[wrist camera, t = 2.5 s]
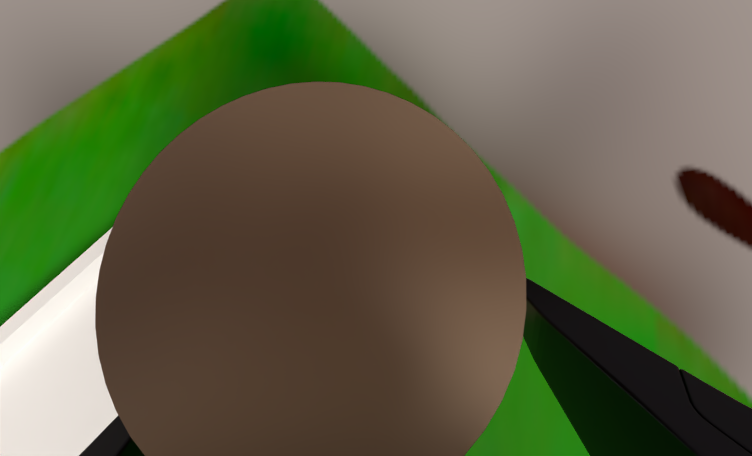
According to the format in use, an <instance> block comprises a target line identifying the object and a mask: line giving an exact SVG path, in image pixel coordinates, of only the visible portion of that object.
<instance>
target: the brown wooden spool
mask: <svg viewBox="0 0 752 456" xmlns="http://www.w3.org/2000/svg"><path fill="white" fill-rule="evenodd" d="M525 316H526V274H525V267H524V260H523V252H522V247H521V243H520V240H519V236H518V233H517V229H516V225H515V222H514V219H513V217H512V214H511V212H510V210H509V207H508V205H507V203H506V200H505V198H504V196H503V194H502V192H501V190H500V189H499V187H498V185H497V183H496V182H495V180H494V178H493V177H492V175H491V173H490V172H489V170H488V169H487V168H486V166H485V165H484V164H483V162H482V161H481V160H480V159H479V157H478V156H477V155H476V153H475V152H474V151H473V150H472V149H471V148H470V147H469V146H468V145H467V144H466V143H465V142H464V141H463V140H462V139H461V138H460V137H459V136H458V135H457V134H456V133H455V132H454V131H453V130H452V129H450V128H449V127H448V126H446V125H445V124H444V123H442V122H441V121H440V120H439V119H437V118H436V117H435V116H433V115H432V114H430V113H428V112H426V111H425V110H423V109H421V108H419V107H418V106H416V105H414V104H413V103H411V102H408V101H406V100H404V99H401V98H399V97H396V96H394V95H392V94H389V93H386V92H383V91H379V90H376V89H372V88H369V87H365V86H359V85H353V84H346V83H340V82H305V83H293V84H287V85H282V86H277V87H272V88H267V89H264V90H261V91H258V92H255V93H252V94H249V95H246V96H243V97H240V98H238V99H236V100H234V101H232V102H229V103H227V104H225V105H223V106H221V107H219V108H217V109H216V110H214V111H212V112H211V113H209V114H207V115H206V116H204V117H202V118H201V119H199V120H198V121H196V122H195V123H194V124H192V125H191V126H190V127H188V128H187V129H186V130H184V131H183V132H182V133H180V134H179V135H178V136H177V137H176V138H175V139H174V140H173V141H172V142H171V143H170V144H168V145H167V146H166V147H165V148H164V149H163V150H162V151H161V152H160V153H159V154H158V155H157V157H156V158H155V159H154V160H153V161H152V163H151V164H150V165H149V166H148V167H147V169H146V170H145V171H144V172H143V173H142V175H141V176H140V178H139V179H138V181H137V182H136V184H135V185H134V187H133V188H132V190H131V191H130V193H129V194H128V196H127V198H126V200H125V202H124V204H123V206H122V208H121V210H120V212H119V213H118V215H117V217H116V220H115V222H114V225H113V227H112V230H111V233H110V235H109V238H108V240H107V243H106V247H105V250H104V254H103V258H102V262H101V266H100V270H99V277H98V284H97V292H96V306H95V329H96V338H97V347H98V356H99V360H100V364H101V368H102V372H103V376H104V380H105V384H106V387H107V389H108V392H109V394H110V397H111V399H112V402H113V404H114V407H115V410H116V412H117V414H118V415H119V417H120V419H121V421H122V422H123V424H124V426H125V428H126V430H127V431H128V433H129V435H130V437H131V438H132V439H133V441H134V442H135V443H136V445H137V446H138V447H139V449H140V450H141V451H142V453H143V454H144V455H145V456H464V455H465V454H466V453H467V451H468V450H469V449H470V448H471V446H472V445H473V444H474V443H475V441H476V440H477V439H478V438H479V436H480V435H481V434H482V433H483V431H484V430H485V429H486V427H487V425H488V423H489V422H490V420H491V418H492V417H493V415H494V413H495V412H496V410H497V408H498V407H499V405H500V403H501V401H502V399H503V397H504V394H505V392H506V390H507V387H508V385H509V382H510V380H511V378H512V375H513V373H514V370H515V366H516V362H517V359H518V355H519V351H520V347H521V344H522V339H523V332H524V324H525Z"/></svg>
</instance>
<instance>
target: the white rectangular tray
mask: <svg viewBox="0 0 752 456" xmlns="http://www.w3.org/2000/svg"><path fill="white" fill-rule="evenodd" d="M111 230H112V228H111V229H110V230H109V231H108V232H107V233H105V234H104V235H103V236H102V237H101V238H100V239H99V240H98V241H96V242H95V243H94V244H93V245H92V246H91V247H90V248H89V249H87V250H86V251H85V252H84V253H83V254H82V255H81V256H80V257H78V258H77V259H76V260H75V261H74V262H73V263H72V264H70V265H69V266H68V267H67V268H66V269H65V270H64V271H63V272H61V273H60V274H59V275H58V276H57V277H56V278H55V279H54V280H52V281H51V282H50V283H49V284H48V285H47V286H46V287H45V288H43V289H42V290H41V291H40V292H39V293H38V294H37V295H36V296H34V297H33V298H32V299H31V300H30V301H29V302H28V303H26V304H25V305H24V306H23V307H22V308H21V309H20V310H19V311H17V312H16V313H15V314H14V315H13V316H12V317H11V318H10V319H8V320H7V321H6V322H5V323H4V324H3V325H2V326H1V327H0V456H79V455H80V454H81V453H82V452H83V451H84V450H85V449H86V448H87V447H88V446H89V445H90V444H91V443H92V442H93V441H94V440H95V439H96V438H97V436H98V435H99V434H100V433H101V432H102V431H103V430H104V429H105V428H106V427H107V426H108V425H109V424H110V423H111V422H112V421H113V420H114V419H115V418H116V417H117V416H118V414H117V412H116V410H115V407H114V404H113V402H112V399H111V397H110V394H109V392H108V389H107V387H106V384H105V380H104V376H103V372H102V368H101V364H100V360H99V356H98V347H97V338H96V329H95V306H96V292H97V284H98V277H99V270H100V266H101V262H102V258H103V254H104V250H105V247H106V243H107V240H108V238H109V235H110V233H111Z"/></svg>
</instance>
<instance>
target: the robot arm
mask: <svg viewBox="0 0 752 456" xmlns="http://www.w3.org/2000/svg"><path fill="white" fill-rule="evenodd" d="M523 337H524V339H525V341H526V343H527V345H528V348H529V350H530V352H531V354H532V356H533V358H534V360H535V362H536V364H537V366H538V368H539V370H540V371H541V373H542V375H543V376H544V378H545V380H546V381H547V383H548V385H549V387H550V388H551V390H552V392H553V393H554V395H555V397H556V398H557V400H558V402H559V404H560V405H561V407H562V409H563V410H564V412H565V414H566V415H567V417H568V419H569V421H570V422H571V424H572V426H573V427H574V429H575V431H576V432H577V434H578V436H579V438H580V439H581V441H582V443H583V444H584V446H585V448H586V450H587V451H588V453H589V455H590V456H752V409H751V408H750V407H748V406H746V405H744V404H742V403H740V402H738V401H737V400H735V399H733V398H731V397H730V396H728V395H726V394H724V393H723V392H721V391H719V390H717V389H715V388H714V387H712V386H710V385H708V384H707V383H705V382H703V381H701V380H700V379H698V378H696V377H695V376H693V375H691V374H690V373H688V372H686V371H684V370H683V369H680V370H679V368H678V367H677V366H676V365H674V364H672V363H671V362H669V361H667V360H666V359H664V358H662V357H660V356H659V355H657V354H655V353H654V352H652V351H650V350H649V349H647V348H645V347H643V346H642V345H640V344H638V343H637V342H635V341H633V340H632V339H630V338H628V337H626V336H625V335H623V334H621V333H620V332H618V331H616V330H615V329H613V328H611V327H609V326H608V325H606V324H604V323H603V322H601V321H599V320H598V319H596V318H594V317H592V316H591V315H589V314H587V313H586V312H584V311H582V310H581V309H579V308H577V307H575V306H574V305H572V304H570V303H569V302H567V301H565V300H564V299H562V298H560V297H558V296H557V295H555V294H553V293H552V292H550V291H548V290H547V289H545V288H543V287H541V286H540V285H538V284H536V283H535V282H533V281H531V280H530V279H527V278H526V316H525V324H524V332H523ZM79 456H145V455H144V454H143V453H142V451H141V450H140V449H139V447H138V446H137V445H136V443H135V442H134V441H133V439H132V438H131V437H130V435H129V433H128V431H127V430H126V428H125V426H124V424H123V422H122V421H121V419H120V417H119V415H118V416H117V417H116V418H115V419H114V420H113V421H112V422H111V423H110V424H109V425H108V426H107V427H106V428H105V429H104V430H103V431H102V432H101V433H100V434H99V435H98V436H97V438H96V439H95V440H94V441H93V442H92V443H91V444H90V445H89V446H88V447H87V448H86V449H85V450H84V451H83V452H82V453H81V454H80V455H79Z"/></svg>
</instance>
